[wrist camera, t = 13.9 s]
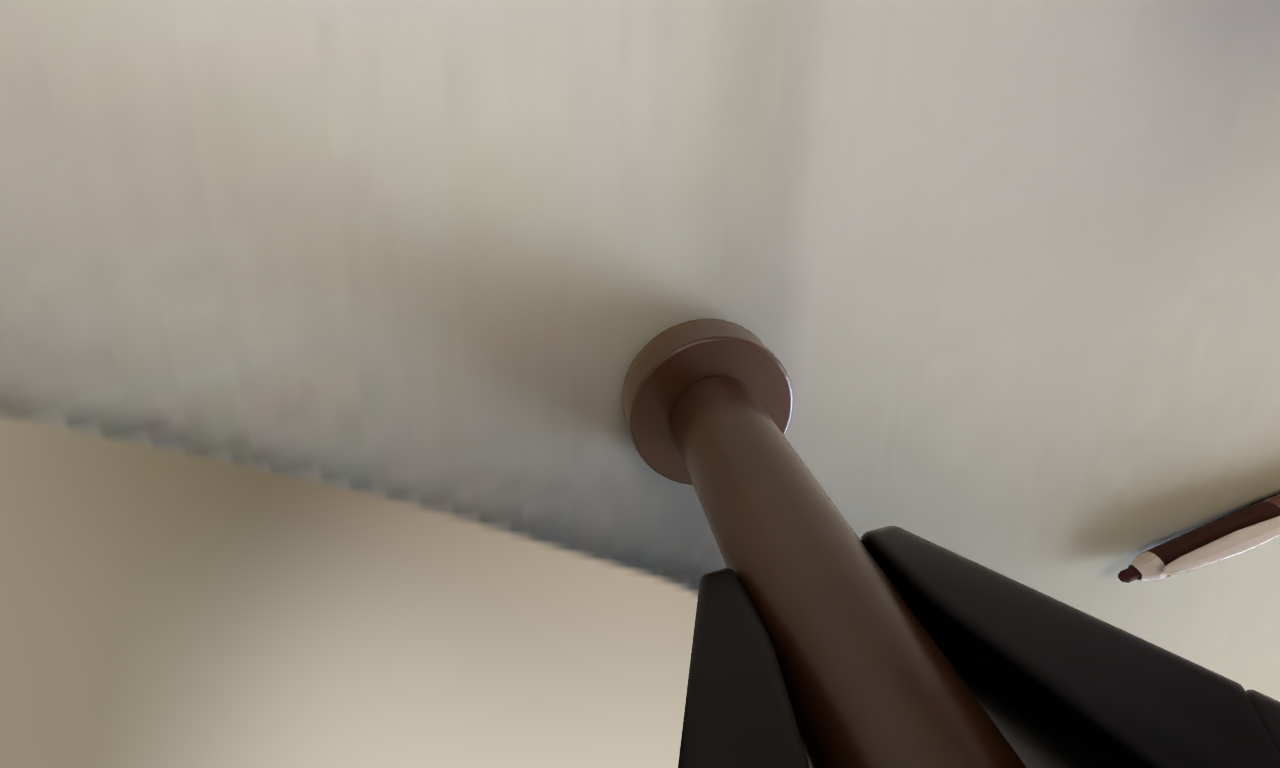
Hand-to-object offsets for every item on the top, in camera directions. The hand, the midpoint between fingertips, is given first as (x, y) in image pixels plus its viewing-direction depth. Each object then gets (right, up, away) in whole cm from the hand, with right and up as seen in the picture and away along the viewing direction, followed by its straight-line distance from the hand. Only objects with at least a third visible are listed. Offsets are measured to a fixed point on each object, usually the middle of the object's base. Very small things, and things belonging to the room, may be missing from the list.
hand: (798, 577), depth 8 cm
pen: (+15, 0, +8) cm, 17 cm away
